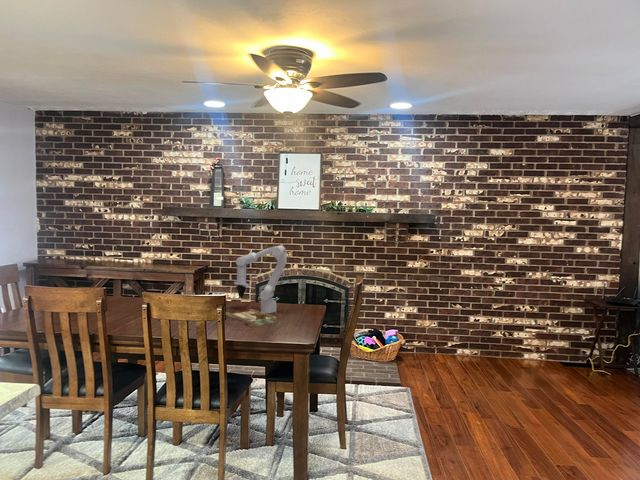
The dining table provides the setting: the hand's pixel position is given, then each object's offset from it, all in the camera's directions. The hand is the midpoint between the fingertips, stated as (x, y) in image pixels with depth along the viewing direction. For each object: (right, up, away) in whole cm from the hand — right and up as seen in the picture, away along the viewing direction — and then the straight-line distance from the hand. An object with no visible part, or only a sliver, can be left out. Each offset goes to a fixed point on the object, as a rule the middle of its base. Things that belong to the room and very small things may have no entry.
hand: (241, 297), depth 280 cm
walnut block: (+16, -10, -26) cm, 32 cm away
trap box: (+9, -11, -18) cm, 23 cm away
